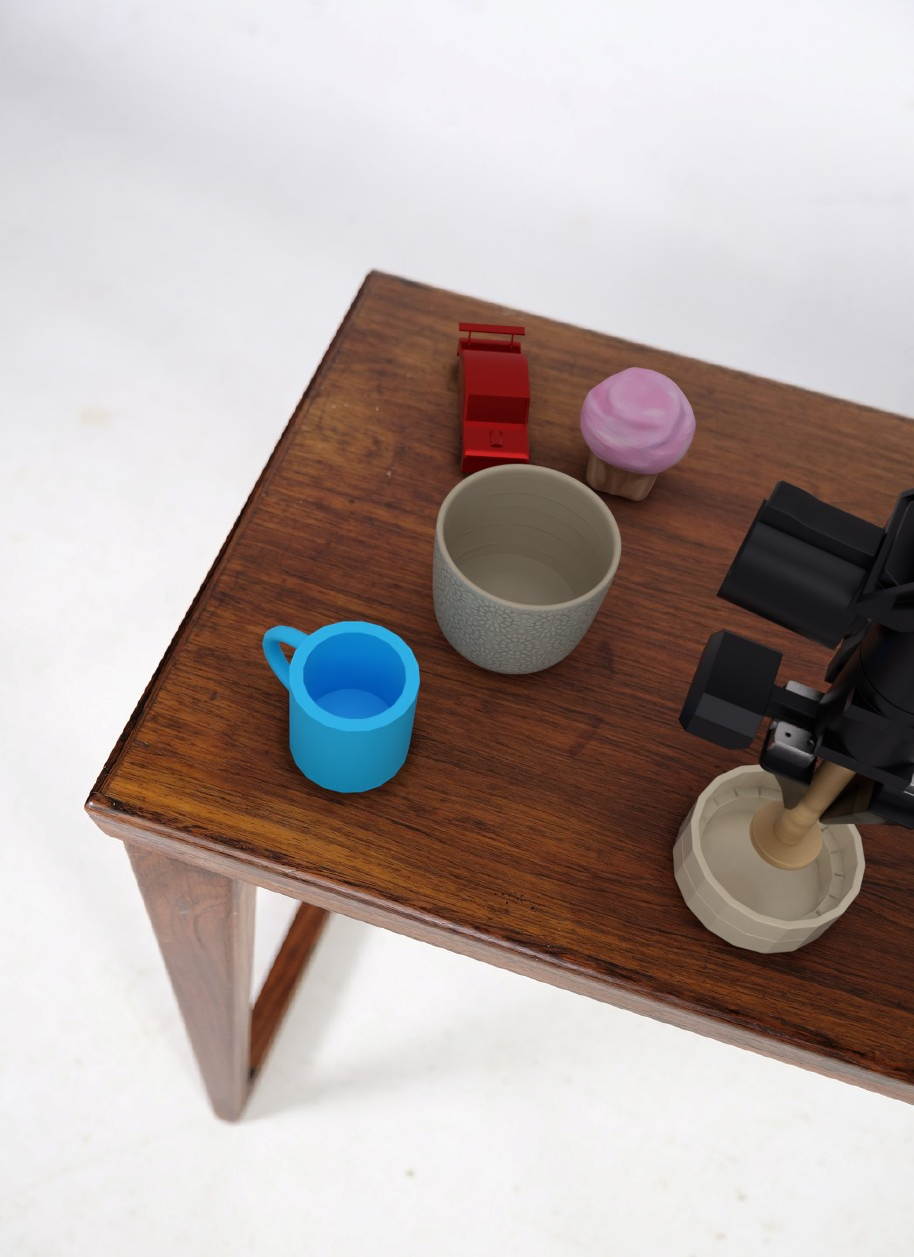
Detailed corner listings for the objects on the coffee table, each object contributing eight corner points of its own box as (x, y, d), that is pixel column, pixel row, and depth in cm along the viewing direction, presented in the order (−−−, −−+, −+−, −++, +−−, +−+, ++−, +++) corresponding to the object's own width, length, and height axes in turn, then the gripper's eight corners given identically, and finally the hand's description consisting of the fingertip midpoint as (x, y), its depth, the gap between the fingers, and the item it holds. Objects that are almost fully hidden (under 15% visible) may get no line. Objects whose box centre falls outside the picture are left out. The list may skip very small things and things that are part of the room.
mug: (434, 737, 82) (446, 673, 75) (352, 816, 78) (358, 756, 71) (307, 635, 85) (309, 566, 79) (223, 706, 81) (217, 639, 75)
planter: (621, 629, 89) (658, 537, 80) (514, 730, 83) (541, 643, 74) (497, 533, 93) (519, 435, 84) (386, 623, 87) (397, 528, 78)
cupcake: (556, 503, 95) (581, 414, 87) (575, 428, 100) (600, 337, 92) (665, 531, 95) (700, 444, 87) (678, 454, 100) (712, 365, 92)
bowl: (849, 837, 81) (879, 804, 77) (814, 985, 75) (844, 958, 71) (697, 773, 83) (718, 738, 79) (649, 913, 76) (670, 883, 72)
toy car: (453, 357, 103) (460, 313, 99) (517, 362, 104) (526, 318, 100) (457, 480, 95) (465, 437, 91) (526, 483, 96) (536, 441, 92)
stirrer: (825, 822, 75) (895, 738, 66) (809, 882, 73) (880, 803, 64) (758, 794, 76) (819, 707, 67) (741, 853, 73) (801, 770, 64)
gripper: (1120, 618, 61) (978, 762, 74) (773, 488, 64) (694, 649, 77) (1102, 794, 55) (951, 919, 68) (719, 642, 58) (642, 789, 70)
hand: (806, 809), depth 71 cm, fingers closed on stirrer, 2 cm apart
